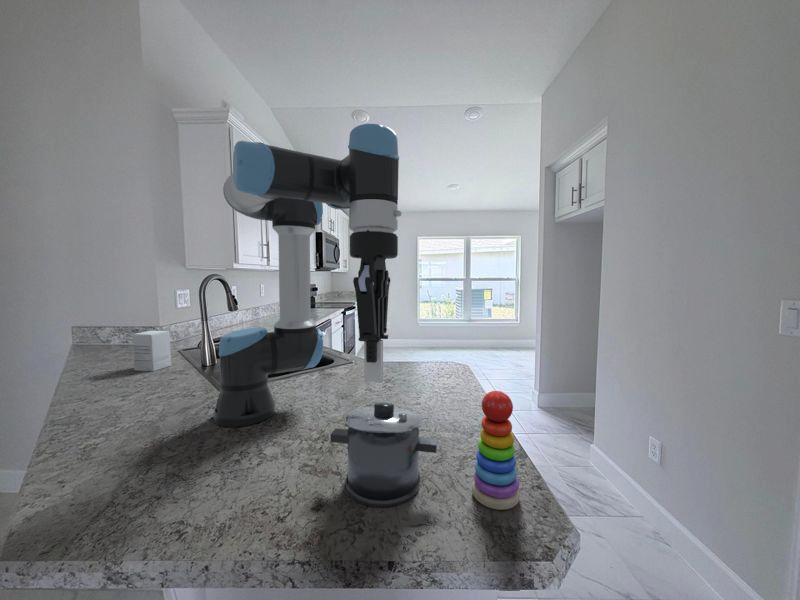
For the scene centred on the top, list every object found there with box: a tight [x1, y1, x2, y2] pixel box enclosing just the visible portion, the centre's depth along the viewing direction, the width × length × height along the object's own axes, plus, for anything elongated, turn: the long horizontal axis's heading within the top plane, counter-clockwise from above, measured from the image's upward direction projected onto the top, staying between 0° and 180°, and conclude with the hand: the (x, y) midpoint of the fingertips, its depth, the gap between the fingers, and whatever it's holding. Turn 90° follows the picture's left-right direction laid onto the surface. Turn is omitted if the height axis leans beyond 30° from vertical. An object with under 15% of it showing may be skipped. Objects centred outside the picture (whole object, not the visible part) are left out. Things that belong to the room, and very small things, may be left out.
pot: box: [330, 426, 438, 509], centre depth 60 cm, size 20×14×10 cm
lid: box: [344, 402, 423, 433], centre depth 60 cm, size 14×15×4 cm
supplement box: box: [131, 330, 172, 372], centre depth 134 cm, size 9×9×15 cm
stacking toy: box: [471, 390, 521, 511], centre depth 56 cm, size 8×8×19 cm
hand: (373, 380), depth 53 cm, fingers closed
